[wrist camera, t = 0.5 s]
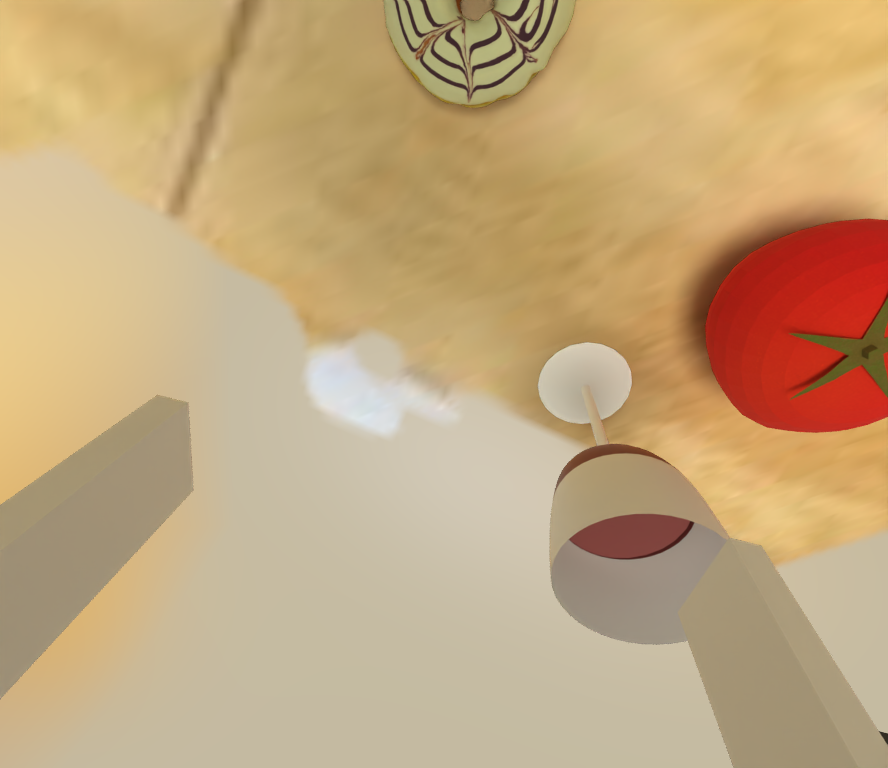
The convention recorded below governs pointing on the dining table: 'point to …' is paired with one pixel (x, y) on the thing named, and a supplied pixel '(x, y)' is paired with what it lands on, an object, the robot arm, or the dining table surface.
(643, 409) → the dining table surface
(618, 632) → the wineglass
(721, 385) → the tomato
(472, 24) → the decorated donut
